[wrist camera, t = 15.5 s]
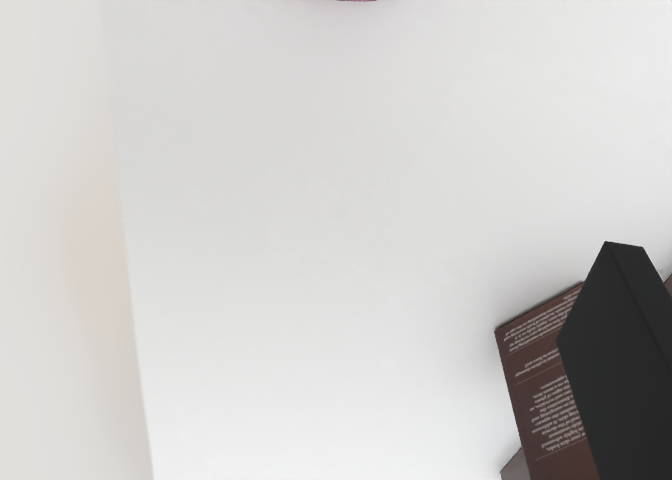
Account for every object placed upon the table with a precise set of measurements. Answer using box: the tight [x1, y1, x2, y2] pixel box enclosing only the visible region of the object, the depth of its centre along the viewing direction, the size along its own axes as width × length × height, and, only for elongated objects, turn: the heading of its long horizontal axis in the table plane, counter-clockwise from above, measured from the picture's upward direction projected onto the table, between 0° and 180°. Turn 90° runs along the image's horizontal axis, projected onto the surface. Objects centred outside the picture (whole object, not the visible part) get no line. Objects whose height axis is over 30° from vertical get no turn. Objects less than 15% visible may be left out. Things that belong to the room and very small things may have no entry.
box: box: [494, 283, 600, 480], centre depth 32 cm, size 6×4×12 cm
